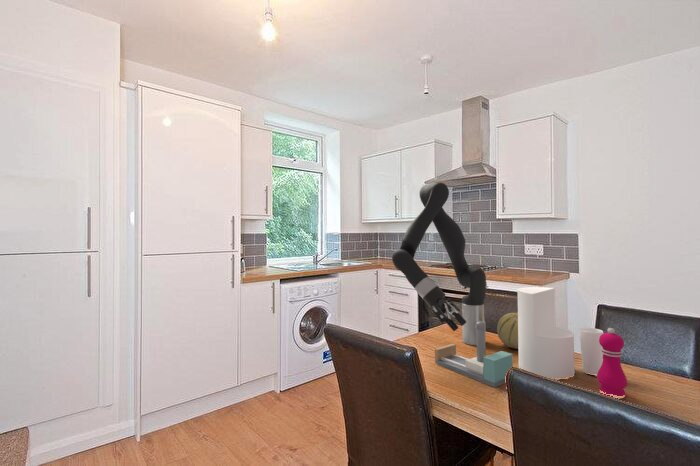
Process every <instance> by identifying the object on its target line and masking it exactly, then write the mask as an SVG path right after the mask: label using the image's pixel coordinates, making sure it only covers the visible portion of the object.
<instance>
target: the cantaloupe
mask: <svg viewBox="0 0 700 466" xmlns="http://www.w3.org/2000/svg"><path fill="white" fill-rule="evenodd" d="M496 332H497V335H498V338H499V340H500V341H501V342H502V343H503V344H504V345H505V346H506V347H508V348H511V349H515V350H518V312H508V313H506V314H504V315H503V316H502V317H501V318H500V319H499V320H498V322H497V326H496Z"/></svg>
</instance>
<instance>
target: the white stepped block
mask: <svg viewBox="0 0 700 466" xmlns="http://www.w3.org/2000/svg"><path fill="white" fill-rule="evenodd" d="M517 313H518V349H517V350H518V368H519V369H520V368H521V369H524V370H527V371H530V372H533V373H536V374H539V375H542V376H545V377H549V378H552V377H553V378H552V379H555V378H566V377H570V376H573V375H574V374H576V373H575V370H576V369H575V368H576V367H575V334H574V332H573V331H571V330H570V329H567V328H564V327H561V326H556V322H557V321H556V288H555V287H543V286H524V287H519V288H517ZM521 369H520V370H521ZM554 381H558V380H557V379H555V380H554Z"/></svg>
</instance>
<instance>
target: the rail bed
mask: <svg viewBox="0 0 700 466" xmlns="http://www.w3.org/2000/svg"><path fill="white" fill-rule="evenodd" d="M468 359H469V358H466V357H464V356H461V355H459V354H457V344H455V343H450V344H446V345H443V346H440V347H436V348H434V362H435V363H434V364H436V365H439V366H441V367H443V368H446V369H448V370H451V371H453V372H455V373H458V374H461V375H463V376H466V377H468V378H471V379H472V380H476V381H477V382H480V383H483V384H485V385H487V386H490V387H492V388H497V387H500V386H501V385H504V384H506V383H505V376H506V373H507V371H508V370H509V369H510V368H511V367H513V368H514V366H513V365H514V364H513V354H512V353H510V352H507V351H503V350H500V351H497V352H495V353H492V354H489V355H488V354H487V355H485V357H483V367H484V373H481V372H478V371H475V370H473V369H470V368H467V367H465V360H468Z"/></svg>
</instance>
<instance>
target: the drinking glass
mask: <svg viewBox="0 0 700 466" xmlns="http://www.w3.org/2000/svg"><path fill="white" fill-rule="evenodd" d="M603 333H604V331H603V330H602V329H599V328H595V327H594V328H593V327H581V328H579V344H580V345H579V346H580V353H581V361H582V372H583V371H584V372H586V373H590V374H598V371H599V369H600V367H601V365H602V362H603V354H602V353H601V351H602V350H601V348H603V347H602V346H601V345H600V343H599V337H600V336H601V335H602V334H603ZM584 372H583V373H584Z"/></svg>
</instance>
